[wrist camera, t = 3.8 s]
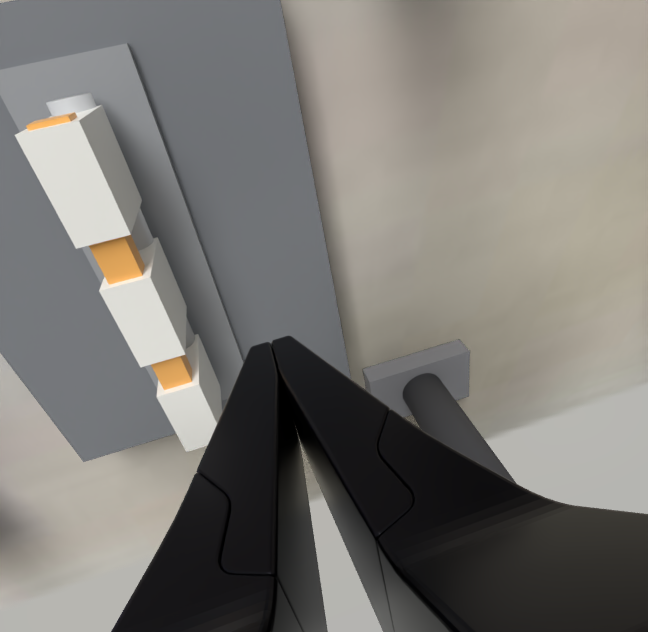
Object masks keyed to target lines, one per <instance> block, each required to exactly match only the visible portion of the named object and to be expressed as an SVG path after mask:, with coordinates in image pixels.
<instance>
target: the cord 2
mask: <svg viewBox="0 0 648 632" xmlns="http://www.w3.org/2000/svg"><path fill="white" fill-rule="evenodd" d="M469 360H470V351H469V350H468V349H467V348H466V346H465V345H464V344H463V343H462V342H461V341H460V340H459V339H458V340H455V341H452V342H449V343H445V344H442V345H439V346H436V347H432V348H429V349H426V350H423V351H419V352H416V353H413V354H410V355H406V356H403V357H400V358H397V359H393V360H390V361H387V362H384V363H380V364H377V365H374V366H371V367H367V368H364V369H363V374H364V380H365V386H366V391H368V392H369V393H370V394H372V395H373V396H375V397H376V398H377V399H379V400H380V401H381V402H383V403H384V404H386V405H387V406H388V407H389V408H390V410H391V409H392V410H394V411H396V412H397V413H398V414H400V415H401V416H402V417H407V416H410V415H413V416H414V418H415V420H416V421H417V423H418V425H419V426H420V428H421V430H423V431H424V432H426V433H427V434H429V435H430V436H432V437H434V438H436V439H437V440H439V441H441V442H442V443H444V444H446V445H447V446H449V447H451V448H453V449H454V450H456V451H458V452H460V453H462V454H463V455H465V456H467V457H469V458H471V459H472V460H474V461H476V462H478V463H480V464H481V465H483V466H485V467H487V468H489V469H490V470H492V471H494V472H496V473H498V474H499V475H501V476H503V477H505V478H507V479H509V480H510V481H512V482H514V483H516V482H515V481H514V480H513V478H512V477H511V476H510V474H509V473H508V472H507V470H506V469H505V467H504V466H503V465H502V463H501V462H500V461H499V459H498V458H497V456H496V455H495V454H494V452H493V451H492V450H491V448H490V447H489V446H488V444H487V443H486V441H485V440H484V439H483V437H482V436H481V435H480V433H479V432H478V430H477V429H476V428H475V426H474V425H473V424H472V422H471V421H470V420H469V418H468V417H467V415H466V414H465V413H464V411H463V410H462V409H461V407H460V406H459V404H458V403H457V402H456V400H459V399H462V398H465V397H468V396H469Z"/></svg>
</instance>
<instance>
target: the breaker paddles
mask: <svg viewBox="0 0 648 632" xmlns="http://www.w3.org/2000/svg"><path fill="white" fill-rule="evenodd" d="M46 105H47V107H48V109H49V111H50V113H51V115H52V116H50V117H49V118H46V119H41V120H37V121H34V122H32V123H30V124H28V125H26V127H27V129H25V130H23V131H22V132H20V133H18V134H16V135H15V137H16V139H17V141H18V142H19V144H20V146H21V148H22V150H23V152H24V154H25V155H26V157H27V159H28V161H29V163H30V165H31V166H32V168H33V170H34V172H35V174H36V176H37V178H38V179H39V181H40V183H41V185H42V187H43V189H44V190H45V192H46V194H47V196H48V198H49V200H50V201H51V203H52V205H53V207H54V209H55V211H56V213H57V214H58V216H59V218H60V220H61V222H62V224H63V225H64V227H65V229H66V231H67V233H68V235H69V237H70V238H71V240H72V242H73V244H74V246H75V248H76V249H77V248H81V247H85V246H89V247H90V249H91V251H92V253H93V255H94V257H95V259H96V261H97V263H98V265H99V267H100V268H101V270H102V272H103V274H104V276H105V277H104V279H103V282H102V285H101V287H100V290H99V292H100V294H101V296H102V297H103V299H104V301H105V303H106V305H107V307H108V308H109V310H110V312H111V314H112V316H113V318H114V319H115V321H116V323H117V325H118V327H119V329H120V331H121V332H122V334H123V336H124V338H125V340H126V342H127V343H128V345H129V347H130V349H131V351H132V353H133V355H134V356H135V358H136V360H137V362H138V364H139V366H140V367H144V366H148V365H151V366H152V368H153V370H154V372H155V374H156V376H157V378H158V388H157V399H158V401H159V402H160V404H161V406H162V408H163V410H164V412H165V414H166V415H167V417H168V419H169V421H170V423H171V425H172V426H173V428H174V430H175V432H176V434H177V436H178V438H179V439H180V441H181V443H182V445H183V447H184V449H185V450H186V452H188V451H192V450H195V449H198V448H201V447H204V446H207V445H208V444H209V441H210V439H211V437H212V434H213V432H214V430H215V427H216V425H217V423H218V421H219V418H220V416H221V414H222V402H221V389H220V385H219V382H218V380H217V377H216V375H215V373H214V370H213V368H212V365H211V363H210V361H209V358H208V356H207V354H206V351H205V349H204V346H203V344H202V342H201V339H200V337H199V335H198V334H196V335H194V333H193V331H192V328H191V326H190V324H189V321H188V319H187V317H186V314H187V306H186V304H185V301H184V299H183V296H182V294H181V292H180V289H179V287H178V285H177V282H176V280H175V277H174V275H173V273H172V270H171V268H170V265H169V263H168V261H167V258H166V256H165V254H164V251H163V249H162V246H161V244H160V242H159V239H158V237H156V238H153V237H152V235H151V232H150V230H149V228H148V225H147V223H146V221H145V218H144V216H143V214H142V211H141V209H140V205H141V202H142V199H141V196H140V194H139V192H138V189H137V187H136V185H135V182H134V180H133V177H132V175H131V173H130V170H129V168H128V165H127V163H126V161H125V158H124V156H123V154H122V151H121V149H120V146H119V144H118V142H117V139H116V137H115V135H114V132H113V130H112V127H111V125H110V123H109V120H108V118H107V115H106V113H105V111H104V108H103V106H102V105H99V106H96V104H95V101H94V99H93V97H92V94H91V93H83V94H78V95H74V96H69V97H65V98H61V99H57V100H53V101H50V102H47V103H46Z"/></svg>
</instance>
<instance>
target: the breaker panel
mask: <svg viewBox="0 0 648 632" xmlns="http://www.w3.org/2000/svg"><path fill="white" fill-rule="evenodd" d="M83 93H91V94H92V97H93V99H94V101H95V104H96V106H99V105H102V106H103V108H104V111H105V113H106V115H107V118H108V120H109V123H110V125H111V127H112V130H113V132H114V135H115V137H116V139H117V142H118V144H119V146H120V149H121V151H122V154H123V156H124V158H125V161H126V163H127V165H128V168H129V170H130V173H131V175H132V177H133V180H134V182H135V185H136V187H137V189H138V192H139V194H140V196H141V199H142V202H141V205H140V209H141V211H142V214H143V216H144V218H145V221H146V223H147V225H148V228H149V230H150V232H151V235H152V237H153V238H156V237H158V239H159V242H160V244H161V246H162V249H163V251H164V254H165V256H166V258H167V261H168V263H169V265H170V268H171V270H172V273H173V275H174V277H175V280H176V282H177V285H178V287H179V289H180V292H181V294H182V296H183V299H184V301H185V304H186V306H187V314H186V317H187V319H188V321H189V324H190V326H191V328H192V331H193V333H194V335H196V334H198V335H199V337H200V339H201V342H202V344H203V346H204V349H205V351H206V354H207V356H208V358H209V361H210V363H211V365H212V368H213V370H214V373H215V375H216V377H217V380H218V382H219V385H220V389H221V402H222V411H223V409H224V407H225V404H226V402H227V400H228V398H229V395H230V393H231V391H232V388H233V386H234V384H235V382H236V379H237V377H238V375H239V372H240V370H241V368H242V365H243V363H244V361H245V359H246V356H247V354H248V352H249V349H250V348H251V347H252V346H255V345H258V344H261V343H265V342H270V343H272V341H273V340H275V339H278V338H281V337H285V336H288V335H289V336H292V337H293V338H295V339H296V340H297V341H299V342H300V343H302V344H303V345H304V346H306V347H307V348H308V349H310V350H311V351H313V352H314V353H315V354H317V355H318V356H320V357H321V358H322V359H324V360H325V361H326V362H328V363H329V364H331V365H332V366H333V367H335V368H336V369H337V370H339V371H340V372H342V373H343V374H344V375H346V376H347V377H348V378H350V379H351V376H350V370H349V365H348V360H347V354H346V349H345V344H344V338H343V333H342V328H341V322H340V317H339V312H338V306H337V301H336V296H335V290H334V285H333V280H332V274H331V269H330V264H329V258H328V253H327V248H326V242H325V237H324V232H323V226H322V221H321V216H320V210H319V205H318V200H317V194H316V189H315V184H314V178H313V173H312V168H311V162H310V157H309V152H308V146H307V141H306V136H305V130H304V125H303V120H302V114H301V109H300V104H299V98H298V93H297V88H296V82H295V77H294V72H293V66H292V61H291V56H290V50H289V45H288V40H287V34H286V29H285V24H284V18H283V13H282V8H281V2H280V0H14V1H9V2H4V3H0V353H1V354H2V355H3V357H4V358H5V359H6V361H7V362H8V363H9V365H10V366H11V367H12V369H13V370H14V371H15V373H16V374H17V375H18V376H19V378H20V379H21V380H22V382H23V383H24V384H25V386H26V387H27V388H28V390H29V391H30V392H31V394H32V395H33V396H34V397H35V399H36V400H37V401H38V403H39V404H40V405H41V407H42V408H43V409H44V411H45V412H46V413H47V415H48V416H49V417H50V418H51V420H52V421H53V422H54V424H55V425H56V426H57V428H58V429H59V430H60V432H61V433H62V434H63V436H64V437H65V438H66V439H67V441H68V442H69V443H70V445H71V446H72V447H73V449H74V450H75V451H76V453H77V454H78V455H79V457H80V458H81V459H82V460H83V462H85V461H89V460H92V459H95V458H98V457H102V456H105V455H108V454H111V453H114V452H118V451H121V450H124V449H127V448H131V447H134V446H137V445H140V444H143V443H147V442H150V441H153V440H156V439H160V438H163V437H166V436H169V435H173V434H176V432H175V430H174V428H173V426H172V425H171V423H170V421H169V419H168V417H167V415H166V414H165V412H164V410H163V408H162V406H161V404H160V402H159V401H158V399H157V388H158V378H157V376H156V374H155V372H154V370H153V368H152V366H151V365H148V366H144V367H140V366H139V364H138V362H137V360H136V358H135V356H134V355H133V353H132V351H131V349H130V347H129V345H128V343H127V342H126V340H125V338H124V336H123V334H122V332H121V331H120V329H119V327H118V325H117V323H116V321H115V319H114V318H113V316H112V314H111V312H110V310H109V308H108V307H107V305H106V303H105V301H104V299H103V297H102V296H101V294H100V292H99V290H100V287H101V285H102V282H103V279H104V277H105V276H104V274H103V272H102V270H101V268H100V267H99V265H98V263H97V261H96V259H95V257H94V255H93V253H92V251H91V249H90V247H89V246H85V247H81V248H77V249H76V248H75V246H74V244H73V242H72V240H71V238H70V237H69V235H68V233H67V231H66V229H65V227H64V225H63V224H62V222H61V220H60V218H59V216H58V214H57V213H56V211H55V209H54V207H53V205H52V203H51V201H50V200H49V198H48V196H47V194H46V192H45V190H44V189H43V187H42V185H41V183H40V181H39V179H38V178H37V176H36V174H35V172H34V170H33V168H32V166H31V165H30V163H29V161H28V159H27V157H26V155H25V154H24V152H23V150H22V148H21V146H20V144H19V142H18V141H17V139H16V137H15V135H16V134H18V133H20V132H22V131H23V130H25V129H27V127H26V125H28V124H30V123H32V122H34V121H37V120H41V119H46V118H49V117H50V116H52V115H51V113H50V111H49V109H48V107H47V105H46V103H47V102H50V101H53V100H57V99H61V98H65V97H69V96H74V95H78V94H83ZM271 345H272V344H271Z"/></svg>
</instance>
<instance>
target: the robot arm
mask: <svg viewBox="0 0 648 632" xmlns="http://www.w3.org/2000/svg"><path fill="white" fill-rule="evenodd" d="M271 344H272V345H271ZM296 429H297V430H296ZM297 432H298V434H297ZM298 436H299V438H298ZM299 439H300V442H301V444H302V447H303V449H304V452H305V454H306V457H307V459H308V461H309V463H310V466H311V468H312V470H313V472H314V475H315V477H316V479H317V482H318V484H319V486H320V488H321V491H322V493H323V495H324V498H325V500H326V502H327V504H328V506H329V509H330V511H331V514H332V516H333V518H334V520H335V523H336V525H337V527H338V529H339V532H340V533H341V536H342V538H343V541H344V543H345V545H346V548H347V550H348V552H349V555H350V557H351V559H352V561H353V564H354V566H355V568H356V571H357V573H358V575H359V577H360V579H361V582H362V584H363V586H364V589H365V591H366V593H367V596H368V598H369V600H370V602H371V605H372V607H373V609H374V612H375V614H376V616H377V618H378V621H379V623H380V625H381V628H382V630H383V632H648V514H642V513H641V514H640V513H633V512H624V511H615V510H607V509H599V508H590V507H581V506H573V505H568V504H564V503H560V502H557V501H554V500H551V499H548V498H545V497H543V496H540V495H538V494H535V493H533V492H531V491H529V490H527V489H525V488H523V487H521V486H519V485H517V484H516V483H514V482H512V481H510V480H509V479H507V478H505V477H503V476H501V475H499V474H498V473H496V472H494V471H492V470H490V469H489V468H487V467H485V466H483V465H481V464H480V463H478V462H476V461H474V460H472V459H471V458H469V457H467V456H465V455H463V454H462V453H460V452H458V451H456V450H454V449H453V448H451V447H449V446H447V445H446V444H444V443H442V442H441V441H439V440H437V439H436V438H434V437H432V436H430V435H429V434H427V433H426V432H424V431H423V430H421V429H420V428H418V427H417V426H415V425H414V424H412V423H411V422H409V421H408V420H406V419H405V418H404V417H402V416H401V415H400V414H398V413H397V412H396V411H394V410H392V409H391V410H390V408H389V407H388V406H387V405H386V404H384V403H383V402H381V401H380V400H379V399H377V398H376V397H375V396H373V395H372V394H370V393H369V392H368V391H366V390H365V389H364V388H362V387H361V386H359V385H358V384H357V383H355V382H354V381H353V380H351V379H350V378H348V377H347V376H346V375H344V374H343V373H342V372H340V371H339V370H337V369H336V368H335V367H333V366H332V365H331V364H329V363H328V362H326V361H325V360H324V359H322V358H321V357H320V356H318V355H317V354H315V353H314V352H313V351H311V350H310V349H308V348H307V347H306V346H304V345H303V344H302V343H300V342H299V341H297V340H296V339H295V338H293V337H292V336H289V335H288V336H285V337H281V338H278V339H275V340H273V341H272V343H270V342H265V343H261V344H258V345H255V346H252V347H251V348H250V349H249V352H248V354H247V356H246V359H245V361H244V363H243V365H242V368H241V370H240V372H239V375H238V377H237V379H236V382H235V384H234V386H233V388H232V391H231V393H230V395H229V398H228V400H227V402H226V404H225V407H224V409H223V411H222V414H221V416H220V418H219V421H218V423H217V425H216V427H215V430H214V432H213V434H212V437H211V439H210V441H209V444H208V446H207V448H206V450H205V453H204V455H203V457H202V460H201V462H200V464H199V467H198V469H197V473H196V474H195V475H194V477H193V480H192V482H191V484H190V487H189V489H188V491H187V493H186V496H185V498H184V500H183V502H182V504H181V506H180V508H179V510H178V513H177V515H176V517H175V519H174V521H173V523H172V525H171V526H170V528H169V530H168V532H167V534H166V536H165V538H164V539H163V541H162V543H161V545H160V547H159V549H158V550H157V552H156V554H155V556H154V558H153V559H152V561H151V563H150V565H149V566H148V568H147V570H146V572H145V573H144V575H143V577H142V579H141V580H140V582H139V584H138V586H137V587H136V589H135V591H134V593H133V594H132V596H131V598H130V600H129V601H128V603H127V605H126V607H125V608H124V610H123V612H122V614H121V615H120V617H119V619H118V621H117V623H116V624H115V626H114V628H113V629H112V631H111V632H328V631H327V625H326V617H325V610H324V604H323V597H322V590H321V583H320V577H319V570H318V562H317V556H316V548H315V542H314V535H313V528H312V521H311V514H310V507H309V500H308V493H307V487H306V480H305V473H304V466H303V459H302V452H301V447H300V442H299Z"/></svg>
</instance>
